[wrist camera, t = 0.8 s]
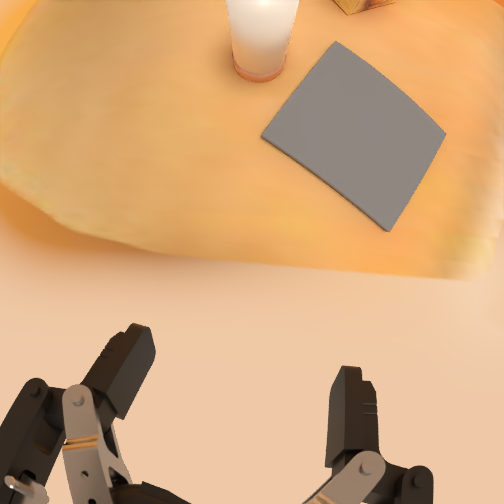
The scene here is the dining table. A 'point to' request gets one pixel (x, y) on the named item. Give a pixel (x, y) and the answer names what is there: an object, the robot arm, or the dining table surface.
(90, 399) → the robot arm
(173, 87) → the dining table surface
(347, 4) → the candy box
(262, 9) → the white cylindrical lamp
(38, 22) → the dining table surface
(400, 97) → the mat
